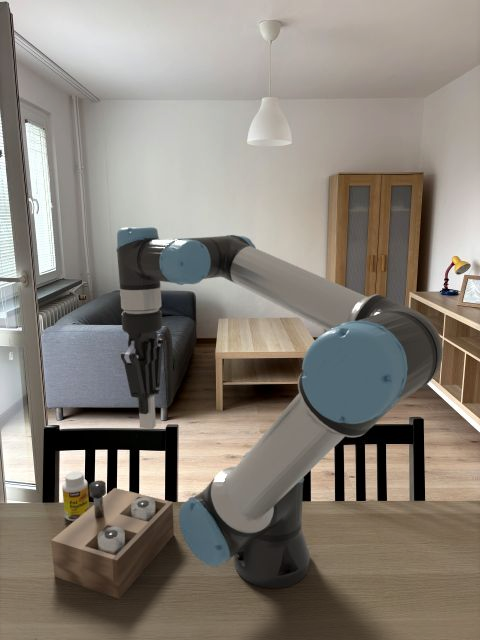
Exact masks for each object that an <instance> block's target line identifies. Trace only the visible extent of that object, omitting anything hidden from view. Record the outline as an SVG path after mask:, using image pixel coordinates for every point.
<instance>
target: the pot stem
mask: <svg viewBox="0 0 480 640" xmlns="http://www.w3.org/2000/svg"><path fill="white" fill-rule="evenodd" d="M106 485H107V484H106V482H105V481H104V480H95V481H92V482H90V483H89V484H88V492H89V497H90V498H92V499H93V505H94V510H95V517H96V518H102V517H103V516H104V507H103V497H104V496H105V495H107V486H106Z"/></svg>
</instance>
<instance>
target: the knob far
mask: <svg viewBox="0 0 480 640" xmlns="http://www.w3.org/2000/svg"><path fill="white" fill-rule="evenodd" d="M155 515H156V511H155V501H154V500H153V499H151V498H139V499H136V500H135V501H133V502H132V504H131V516H132V518H136V519H140V520H143V521H147V522H149V521H150V520H151V519H152V518H153V517H154V516H155Z"/></svg>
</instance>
